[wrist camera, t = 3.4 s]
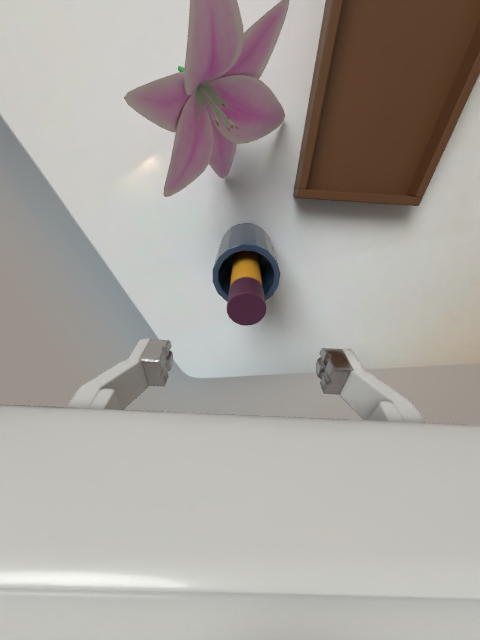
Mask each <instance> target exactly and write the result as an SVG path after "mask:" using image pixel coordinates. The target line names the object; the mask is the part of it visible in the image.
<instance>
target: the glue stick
mask: <svg viewBox="0 0 480 640" xmlns="http://www.w3.org/2000/svg"><path fill="white" fill-rule="evenodd" d="M227 313H228V315H229V317H230V318H231V319H232V320H233V321H234V322H235V323H237V324H240V325H253V324H255V323H257V322H259V321H260V320H261V319H262V318H263V317H264V315H265V313H266V303H265V296H264V290H263V286H262V280H261V272H260V265H259V258H258V253H257V252H255V251H245V250H242V251H239V252H236V253H234V257H233V266H232V274H231V283H230V288H229V295H228V303H227Z"/></svg>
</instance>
